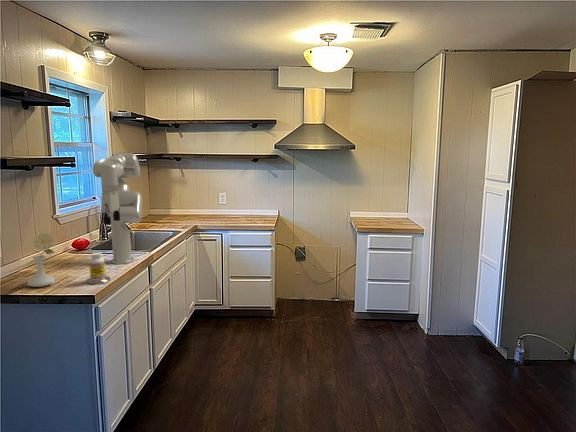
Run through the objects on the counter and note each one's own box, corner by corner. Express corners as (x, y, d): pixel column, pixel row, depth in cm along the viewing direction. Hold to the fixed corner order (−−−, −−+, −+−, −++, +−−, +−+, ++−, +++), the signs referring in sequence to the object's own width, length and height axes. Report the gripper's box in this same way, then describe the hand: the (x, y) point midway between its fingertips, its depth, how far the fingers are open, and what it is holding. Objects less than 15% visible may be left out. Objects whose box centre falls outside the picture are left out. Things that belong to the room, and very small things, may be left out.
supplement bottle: (90, 282, 199) (88, 256, 197) (90, 278, 205) (89, 252, 203) (105, 280, 202) (103, 254, 200) (105, 276, 208) (103, 251, 206)
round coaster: (92, 277, 209) (92, 275, 209) (114, 277, 209) (114, 276, 209) (81, 284, 198) (80, 282, 198) (103, 284, 198) (103, 283, 198)
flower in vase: (22, 289, 191) (17, 236, 187) (35, 281, 203) (30, 231, 199) (52, 288, 192) (47, 235, 188) (63, 280, 204) (58, 230, 200)
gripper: (111, 186, 216) (113, 218, 219) (93, 191, 199) (96, 226, 202) (125, 187, 215) (127, 219, 219) (108, 191, 198) (111, 226, 202)
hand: (112, 222), depth 210 cm, fingers open, 9 cm apart
